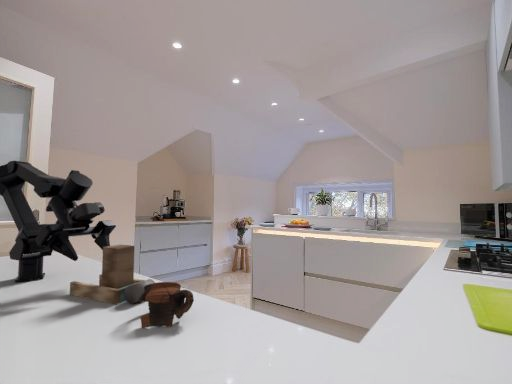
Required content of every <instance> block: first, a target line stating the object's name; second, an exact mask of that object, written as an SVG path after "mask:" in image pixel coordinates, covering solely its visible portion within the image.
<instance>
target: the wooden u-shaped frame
mask: <svg viewBox="0 0 512 384" xmlns="http://www.w3.org/2000/svg"><path fill="white" fill-rule="evenodd" d="M153 283H156V282H155V280H153V279H151V278H149V279H146V280H145V279H139V278H134V280H133V284H131V285H128V286H125V287H122V288H119V289H115V288H109V287H104V286H102V273H100V274H99V280H98V284H92V283H86V282H81V281H76V280H75V281H71V282H69V295H71V296H76V297H81V298H85V299H89V300H95V301H100V302H104V303H110V304H113V305H114V304H115V305H119V304H121V303H124V302H127V303H129V304H131V305H133V304H135V303H138V302H140V300H139V298H140V296H141V295H142V293H144V287H145V286H146V285H149V284H153Z"/></svg>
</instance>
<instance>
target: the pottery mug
mask: <svg viewBox="0 0 512 384" xmlns="http://www.w3.org/2000/svg"><path fill="white" fill-rule="evenodd" d="M181 287H182V285H181V284H180V283H178V282H172V281H162V282H160V281H159V282H155V283H153V284H149V285H146V286H145V287H144V293H142V295H141V296H140V298H139V300H140V301H138V302H139V304H142V303H143V302H145V301H146V302H147V304H148V311H149V312H148V313H145V314H142V315H141V316H140V323H141V328H142V329H144V328H151V327H158V328H159V327H171V326H173V325H174V324H173V323H174V318H175V317H176V318H177V319H178V320H180V319H181V318H182V317H183V315H184V314H186V313H188V312H189V311H190V309H191V308H192V306H193V303H194V301H195V299H194V294H193V292H192V291H191V290H188V289H181Z"/></svg>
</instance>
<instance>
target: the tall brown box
mask: <svg viewBox="0 0 512 384" xmlns="http://www.w3.org/2000/svg"><path fill="white" fill-rule="evenodd" d="M101 266H102V267H101V274H102V286H104V287H109V288H115V289H119V288H122V287H125V286H128V285H131V284H133V280H134V279H135V278H134V276H135V275H134V274H135V245H130V244H120V243H119V244H114V245H110V246H107V247H103V250H102V265H101Z"/></svg>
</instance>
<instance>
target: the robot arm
mask: <svg viewBox="0 0 512 384" xmlns="http://www.w3.org/2000/svg"><path fill="white" fill-rule="evenodd" d="M26 182H27V183H28V184H30V185H31V186H33V192H34V193H36V195H37V196H38V197H40V198H41V199H44V198H45V199H50V200H49V201H48V203H47V206H46V208H45V211H46V213H49V212H53V214H54V216H55V218H56V219H57V220H56V222H55V223H42V224H40V223H39V222H38V220H37V218H36V216H35V214H34V212H33V211H32V208H31V206H30V204H29V202H28V200H27V198H26V195H25V194H24V191H23V190H22V189H23V187H24V185H25V183H26ZM92 186H93V180H92V178H90V177H89V176H87V175H85V174H83V173H81V172H80V171H79V170H74V169H73V170H72V169H71V170H70V172H69V173H68V176H67V177H66V178H61V177H58V176H53V175H49V174H47V173H46V172H44V171H42V170H40V169H39V168H37V167H35V166H33V165H32V164H31V163H30V162H28V161H22V160H10V161H8V162H7V163H6V164H2V165H0V196H1V197H2V198H3V201H4V202H5V205H6V206H7V209H8V211H9V213H10V216H11V217H12V220H13V222H14V224H15V226H16V228H17V231H18V233H17V235H16V238H15V240H14V241H15V243H14V245H13V246H12V247H11V249H10V250H9V252H8V253H9V259H10V260H15V261H18V269H17V270H18V271H17V276H16V277H15V279H13V281H14V283H16V282H25V281H26V282H27V281H34V280H43V279H44V278H45V275H46V273H45V272H44V257H50V256H52V254H53V251H55V252H57V253H59V254H61V255H63V256H65V257H66V258H69V259H70V260H72V261H74V262H77V261H78V259H79V256H78V253H77V252H76V250H75V248H74V247H73V243H71V241H70V237H79V236H80V237H82V236H91V238H92V239H94V241H93V242H94V243H95V244H96V245H97V246H98V247H99V248H100V250H101V251H103V247H107V246H111V244H110V235H111V234H112V232H113V231H114V229H116V227H117V225H116V224H115V222H114V221H113V220H99V221H98V222H97V223H96V224H95V226H90V225H91V224H93V222H94V221H95V220H94V218H96V217H97V216H100V215H102V214H104V212H105V207H104V205H103V204H102V202H84V203H83V202H82V203H80V204H77V202H78V201H81V200H82V199H83V198H85V196H86V194H87V193H88V191H90V189H91V187H92Z"/></svg>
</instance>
